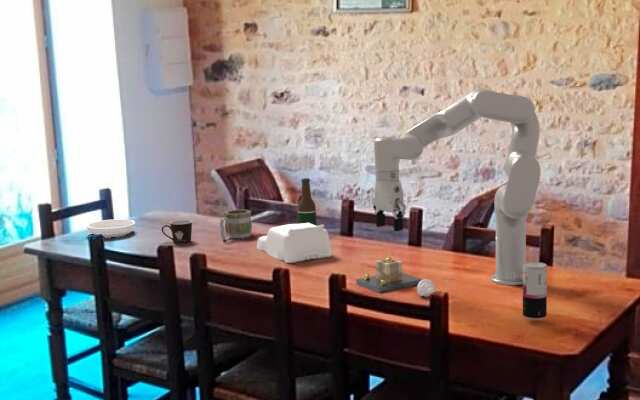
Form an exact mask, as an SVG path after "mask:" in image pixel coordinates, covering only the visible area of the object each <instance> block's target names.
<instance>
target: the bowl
mask: <svg viewBox="0 0 640 400" xmlns="http://www.w3.org/2000/svg"><path fill="white" fill-rule="evenodd" d="M135 227H136V222H135V220H132V219H126V218H125V219H124V218H122V219H121V218H119V219H118V218H115V219H114V218H113V219H105V220H104V219H103V220H102V219H101V220H98V221H93V222H90V223H87V224H86V229H87V232H88V233H89V234H90V235H92V234H102V235H103V236H104V237H105V238H104V239H112V238H111V237H117V238H119V237H118V236H122V237H124V236H123V235H126V234H128V235H130V234H131V232H132V231H134V230H135ZM126 236H127V235H126Z"/></svg>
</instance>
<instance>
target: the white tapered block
mask: <svg viewBox="0 0 640 400" xmlns="http://www.w3.org/2000/svg"><path fill="white" fill-rule="evenodd" d="M324 227H325V224H324V223H323V224H319V225H317V224H316V225H313V224H310V223H301V224H298V223H288V224H284V225H278V226H273V227H270V228H269V230H268V232H267V235H262V236H261V237H258V240H257V244H256V247H257V248H256V249H258V250H259V249H260V251H264V252H266V253H267V255H269V256H271V257H272V258H274V259H276V260H279V261H284V264H294V263H300V262H305V261H309V260H318V259H324V258H330V257H331V256H332V255H333V253H332V251H331V242H330V235H329V232H328V230H327V229H325V228H324Z"/></svg>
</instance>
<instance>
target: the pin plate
mask: <svg viewBox="0 0 640 400" xmlns="http://www.w3.org/2000/svg"><path fill="white" fill-rule="evenodd" d="M385 259H386V263H391V262H392V259H393V257H386V258H385ZM355 280H356V285H358V286H361V287H363V288H366V289H369V290H370V291H374V292H376V293H384V292H389V291H390V292H391V291H395V290H400V289H404V288H410V287H415V286H418V283H419V282H420V281H421V280H423V279H422V278H419V277H417V276H415V275H411V274H407V273H405V272H402V280H398V281H393V282H388V283H387V282H386V280H378V279H376V275H373V276H371V275H370V273H365V274H364V277H362V278H356V279H355Z"/></svg>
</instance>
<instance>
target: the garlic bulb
mask: <svg viewBox="0 0 640 400" xmlns="http://www.w3.org/2000/svg"><path fill="white" fill-rule="evenodd" d="M416 292H417V294H418V295H419V296H421V297H424V298H429V297H430V296H431V295H430V294H431V293H433V292H435V293H436V286H435V285H434V283H433V281H432V280H430V279H428V278H425V279H422V280H421V281H420V282H419V283H418V285H416ZM433 294H434V293H433Z"/></svg>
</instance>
